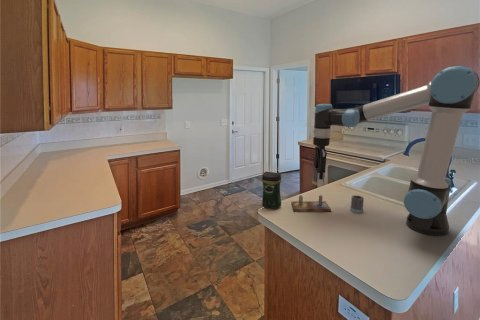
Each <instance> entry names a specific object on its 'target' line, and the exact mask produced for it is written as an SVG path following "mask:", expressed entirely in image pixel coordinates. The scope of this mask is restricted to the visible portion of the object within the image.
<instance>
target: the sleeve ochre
mask: <svg viewBox="0 0 480 320" xmlns="http://www.w3.org/2000/svg"><path fill="white" fill-rule="evenodd" d="M318 171H319V168H316V169H315V168H314V169H313V176H312V182H311V183H312V185H315V186H318V185H317V177H318V173H317V172H318ZM325 174H326V172H325V173H324V178H323V186H324V185H325ZM319 186H322V185H319Z"/></svg>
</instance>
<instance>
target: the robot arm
mask: <svg viewBox="0 0 480 320" xmlns="http://www.w3.org/2000/svg"><path fill="white" fill-rule="evenodd" d="M479 87H480V77H479V75H478V73H476V72H475V70H473V69H471V68H470V67H468V66H464V65H455V66H454V65H452V66H450V67H446V68H444V69H441V70H440V71H439V72H438V73H436V75H434V76H433V78H432V80H430V81H429V82H428V84H426V85H422V86H419V87H416V88H413V89H409V90H407V91H403V92H400V93H397V94H394V95H391V96H388V97H385V98H380V99H379V100H376V101H372V102H369V103H366V104H362V105H358V106H356V107H350V108H334V107H333V105H332V104H331V103H318V104H316V105H315V110H314V124H313V125H314V127H313V130H312V133H313V140H312V144H313V145H314V146H315V147H314V161H313V166H314V169H316V168H319V171H318V172H317V173H318V177H317V185H316V186H320V185H321V186H324V185H323V178H324V179H325V177H324V173H325V174H326V167H327V166H326V165H327V156H328V155H327V154H328V152H327V151H326V150H327V149H326V147H327V146H328V147H329V145H330V142H331V141H330V140H331V139H330V136H331V129H332V128H331V126H336V127H337V126H338V127H345V128H354V127H356V126H357V125H358V124H362V123H366V122H368V121H371V120H375V119H379V118H383V117H386V116H389V115H393V114H398V113H401V112H405V111H408V110H412V109H416V108H419V107H423V106H426V105H428V106H427V107H428V108H429V110H430V111H431V114H430V120H429V124H428V128H427V132H426V136H425V139H424V140H425V141H424V144H423V149H422V151H421V152H422V153H421V156H420V161H419V165H418V169H417V172H416V175H414V176H412V177H411V179H410V182H409V187H408V191H407V192H406V193H405V195H404V197H403V205H404V207H405V209H406V211H407V212H408V215H407V217H406V221H405V224H406V225H407V227H408V228H410V229H411V230H413V231H416V232H417V233H421V234H424V235H429V236H436V237H437V236H438V237H439V236H445V235H448V234H449V231H450V223H449V221H448V220H449V219H448V216H447V211H448V204H449V199H450V192H451V187H452V179H450V178H449V177H447V173H448V170H449V167H450V163H451V159H452V155H453V151H454V147H455V145H456V144H455V143H456V140H457V136H458V133H459V129H460V127H461V126H460V125H461V122H462V118H463V115H464V114H465V113H467V112H468V111H470V110H471V107H472V104H473V101H474V96H475V93H476V92H478V89H479Z"/></svg>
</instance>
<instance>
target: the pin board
mask: <svg viewBox="0 0 480 320" xmlns="http://www.w3.org/2000/svg"><path fill="white" fill-rule="evenodd" d="M323 199H324V198H323V195H322V194H321V195H319V196H318V201H314V200H313V201H308V200H307V201H306V200H305V201H304V200H303V195H299V196H298V200H297V201H295V200H294V201H291V207H292V210H293V212H294V213H331V212H332V209H331V207H330V206H329V204H328V202H326V201H325V200H323Z"/></svg>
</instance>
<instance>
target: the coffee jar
mask: <svg viewBox="0 0 480 320" xmlns="http://www.w3.org/2000/svg"><path fill="white" fill-rule="evenodd" d="M261 182H262V189H263V190H262V201H261V206H262V207H263V208H265V209H271V210H277V209H280V208H281V207H282V200H281V199H282V197H281V182H282V175H281V173H280V172H272V171H265V172H263V173H262V177H261Z"/></svg>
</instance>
